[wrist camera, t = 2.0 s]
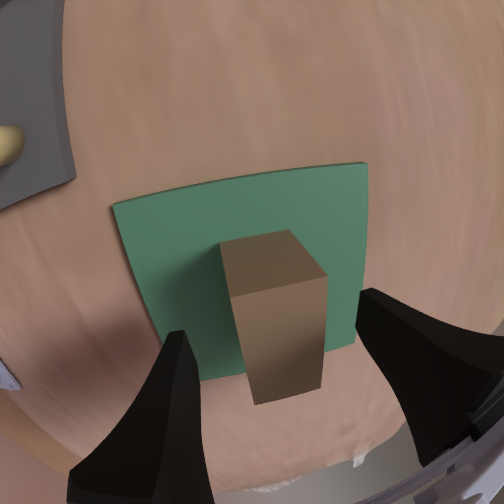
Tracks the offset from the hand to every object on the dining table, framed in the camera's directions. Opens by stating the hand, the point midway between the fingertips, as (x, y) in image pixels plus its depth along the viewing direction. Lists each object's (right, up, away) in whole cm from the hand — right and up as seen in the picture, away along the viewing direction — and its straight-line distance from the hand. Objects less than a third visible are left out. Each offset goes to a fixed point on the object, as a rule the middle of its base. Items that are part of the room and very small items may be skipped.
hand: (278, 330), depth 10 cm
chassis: (-16, +11, -5) cm, 20 cm away
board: (-1, +2, +3) cm, 4 cm away
